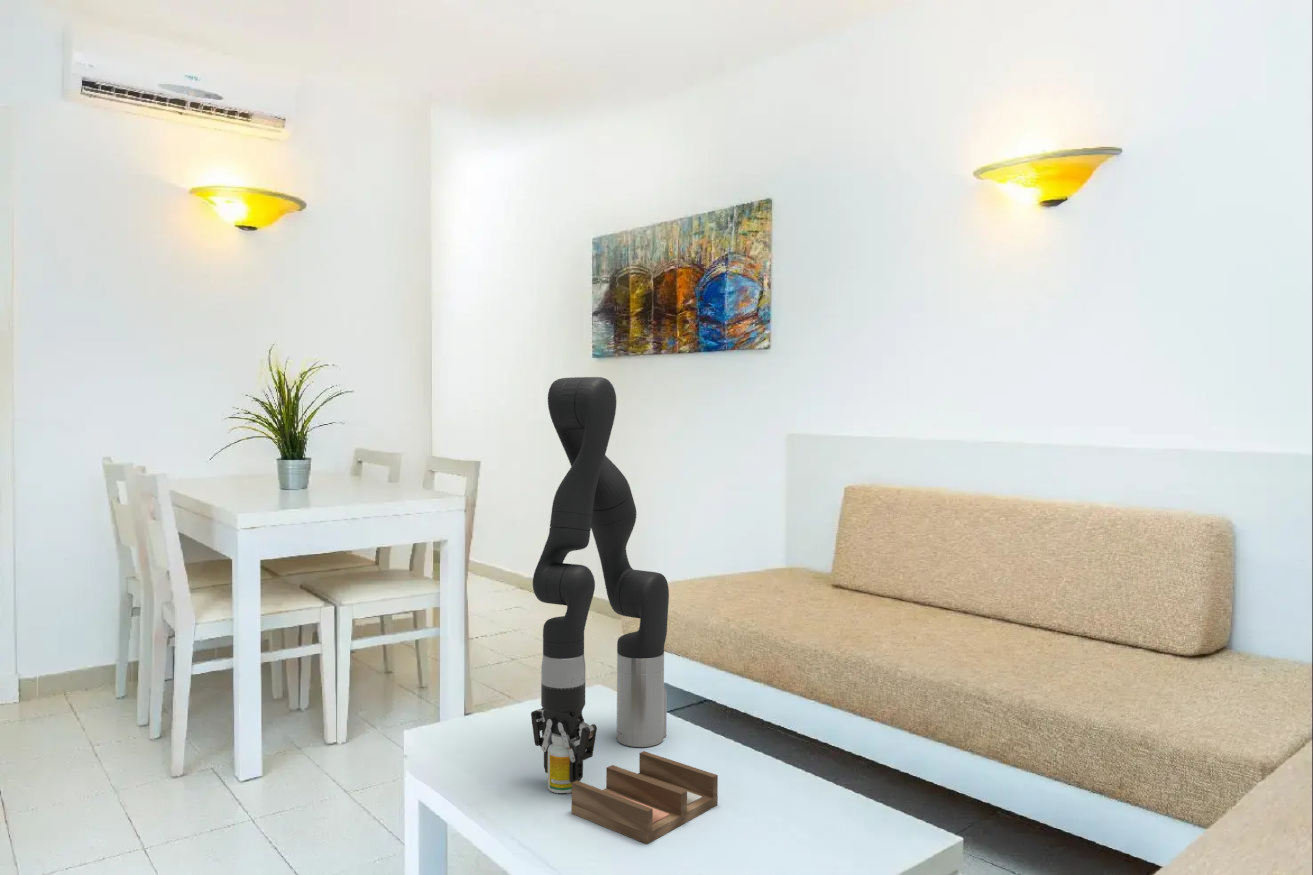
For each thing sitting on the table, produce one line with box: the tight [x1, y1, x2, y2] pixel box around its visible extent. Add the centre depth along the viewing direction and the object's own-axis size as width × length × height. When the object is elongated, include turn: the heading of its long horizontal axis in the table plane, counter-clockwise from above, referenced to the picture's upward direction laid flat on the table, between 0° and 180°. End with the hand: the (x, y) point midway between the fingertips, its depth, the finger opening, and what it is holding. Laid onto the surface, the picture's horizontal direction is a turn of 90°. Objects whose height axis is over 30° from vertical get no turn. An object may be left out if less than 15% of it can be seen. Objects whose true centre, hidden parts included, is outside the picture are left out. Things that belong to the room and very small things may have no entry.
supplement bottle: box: [546, 733, 577, 794], centre depth 161 cm, size 5×5×10 cm
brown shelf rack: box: [570, 750, 719, 845], centre depth 154 cm, size 18×16×5 cm
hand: (562, 776), depth 162 cm, fingers closed on supplement bottle, 5 cm apart
